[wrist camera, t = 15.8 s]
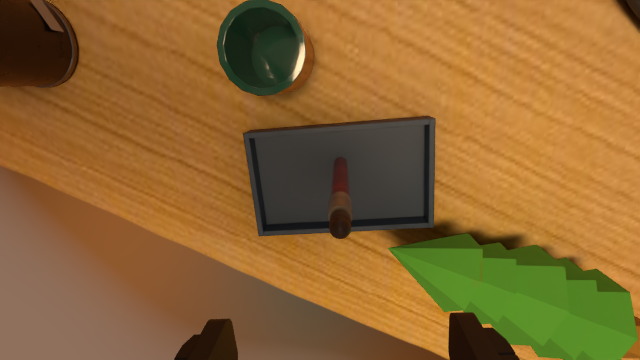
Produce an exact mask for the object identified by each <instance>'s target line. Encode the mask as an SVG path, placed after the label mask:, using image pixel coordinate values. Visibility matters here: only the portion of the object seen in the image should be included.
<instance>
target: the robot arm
mask: <svg viewBox="0 0 640 360" xmlns="http://www.w3.org/2000/svg"><path fill="white" fill-rule="evenodd" d="M76 62H77V43H76V39H75V36H74V33H73V31H72V28H71V26H70V25H69V23H68V21H67V20H66V18H65V17H64V16H63V15H62V13H61V12H60V11H59V10H58V9H57V8H55V7H54V6H53V5H52V4H50V3H49V2H47V1H45V0H0V86H11V87H25V86H34V87H54V86H57V85H59V84H61V83H63V82H64V81H66V80H67V79H68V78H69V77H70V76H71V74H72V72H73V71H74V68H75V66H76ZM449 357H450V360H520V359H519V358H518V356H517V355H515V352H514V350H513V349H512V347H511V346H510V344H509V343H508V341H507V339H505V338H504V337H503V336H502V335H501V334H499V333H498V332H497V331H496V330H495V329H493V328H483V327H482V325H481V323H480V322H479V320H478V318H477V317H476V315H475V314H474V313H473V312H464V313H451V314H450V318H449ZM174 360H238V351H237V346H236V341H235V336H234V330H233V325H232V321H231V320H230V319H210V320H209V321H208V322H207V323H206V325H205V327H204V329H203V331H202V332H201V334H200V335H193V336H192V337H191V338H190V339H189V340H188V341H187V342H186V343H185V344H184V345H182V347H181V349H180V350H179V352H178V353H177V355H176V357H175V359H174Z"/></svg>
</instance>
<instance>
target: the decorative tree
mask: <svg viewBox="0 0 640 360" xmlns="http://www.w3.org/2000/svg"><path fill="white" fill-rule="evenodd" d="M388 249H389V250H390V251H391V252H392V253H393V255H394V256H395V257H396V258H397V259H398V260H399V261H400V262H401V264H402V265H403V266H404V267H405V268H406V269H407V270H408V271H409V273H410V274H411V275H412V276H413V277H414V278H415V279H416V280H417V282H418V283H419V284H420V285H421V286H422V287H423V288H424V289H425V291H426V292H427V293H428V294H429V295H430V296H431V297H432V298H433V300H434V301H435V302H436V303H437V304H438V305H439V306H440V307H441V309H442V310H443V311H444V312H448V311H460V310H463V311H464V312H473V313H474V314H475V315H476V317H477V318H478V320H479V322H480V323H481V324H491V325H492V326H493V327H494V329H495V330H496V331H497V332H498V333H499V334H501V335H502V336H503V337H504V338H505V339H507V341H508V343H509V344H512V345H529V346H531V347H532V349H533V350H534V351H535V353H536V354H537V355H538V357H547V358H560V359H563V360H621V358H640V319H639V318H637V317H635V316H634V313H633V307H632V301H631V296H630V292H628V291H627V290H626V289H624V288H623V287H621V286H620V285H619V284H617V283H616V282H614V281H613V280H612V279H610V278H609V277H607V276H606V275H605V274H603V273H602V272H600V271H599V270H598V269H592V270H587V271H583V270H582V269H581V268H579V267H578V266H577V265H575V264H574V263H573V262H571V261H570V260H569V259H568V258H562V259H557V260H556V259H554V258H553V257H552V256H551V255H549V254H548V253H547V252H545V251H544V250H543V249H542V248H540V247H539V246H538V245H532V246H527V247H521V248H516V249H511V250H507V249H506V248H505V247H504V246H503V245H502V244H501V243H500V242H499V243H493V244H486V245H479V244H478V243H477V242H476V241H475V240H474V239H473V238H472V237H471V236H470V235H469V234H468V233H465V234H460V235H455V236H449V237H444V238H439V239H434V240H428V241H423V242H418V243H412V244H407V245H402V246H397V247H391V248H388Z"/></svg>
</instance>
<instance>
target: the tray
mask: <svg viewBox="0 0 640 360" xmlns="http://www.w3.org/2000/svg"><path fill="white" fill-rule="evenodd" d="M243 136H244V143H245V149H246V156H247V162H248V169H249V175H250V182H251V188H252V195H253V201H254V208H255V214H256V221H257V227H258V234H259V236H272V235H292V234H312V233H330V230H329V223H330V222H329V220H328V210H329V200H330V197H331V192H332V181H333V170H334V161H335V160H336V159H337V158H339V157H342V158H344V159H346V161H347V168H348V181H349V194H350V198H351V203H352V214H353V218H352V221H351V231H371V230H391V229H410V228H428V227H429V228H431V227H434V178H435V118H433V117H430V116H422V117H410V118H397V119H385V120H372V121H359V122H347V123H334V124H322V125H309V126H297V127H284V128H271V129H259V130H249V131H247V132H245V133H243Z"/></svg>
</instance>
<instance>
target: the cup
mask: <svg viewBox="0 0 640 360" xmlns="http://www.w3.org/2000/svg"><path fill="white" fill-rule="evenodd" d="M217 49H218V55H219V61H220V64H221V66H222V68H223V69H224V71H225V73H226V75H227V77H228V78H229V80H231V81H232V82H233V83H234V84H235V85H237V86H238V87H239V88H240V89H241V90H243V91H246V92H249V93H252V94H255V95H258V96H263V95H274V94H281V93H288V92H292V91H294V90H296V89H298V88H299V87H301V86H302V85H303V84H304V83H305V82H306V81H307V80H308V78H309V77H310V75H311V73H312V70H313V66H314V50H313V46H312V43H311V41H310V39H309V37H308V35H307V33H306V32H305V30H304V29H303V28H302V26H301V25H300V23H299V22H298V20H297V19H296V17H295V16H294V15H293V14H291V13H290V12H289V11H288V10H287V9H286V8H285V7H284V6H283V5H281V4H278V3H275V2H272V1H269V0H248V1H245V2H243V3H242V4H240V5H238V6H237V7H235V8H234V9H232V10H231V11H230V12H229V14H228V15H227V17H226V18H225V20H224V21H223V23H222V24H221V26H220V31H219V36H218V40H217Z"/></svg>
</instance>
